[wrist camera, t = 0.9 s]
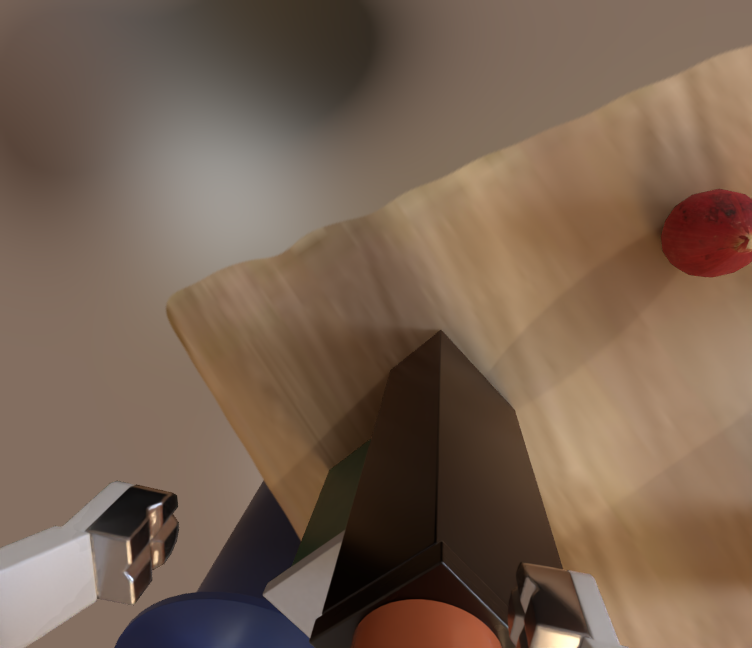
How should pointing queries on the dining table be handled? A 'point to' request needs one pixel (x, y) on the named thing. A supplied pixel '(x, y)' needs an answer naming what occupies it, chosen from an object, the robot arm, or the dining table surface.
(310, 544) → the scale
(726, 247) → the red oval fruit
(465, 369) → the tall dark pedestal
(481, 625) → the scoop
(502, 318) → the dining table surface
